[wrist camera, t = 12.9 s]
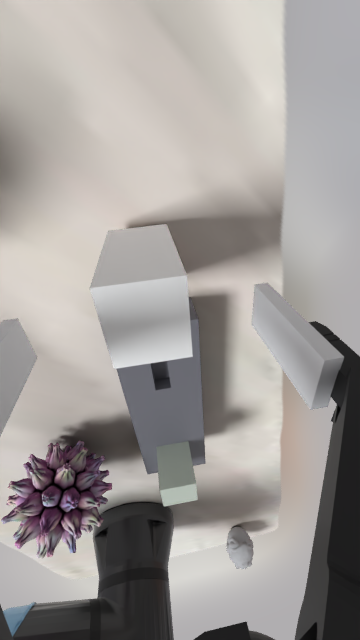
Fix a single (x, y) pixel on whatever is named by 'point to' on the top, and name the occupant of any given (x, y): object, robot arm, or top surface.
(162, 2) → the top surface
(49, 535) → the flower
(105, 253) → the white rectangular block
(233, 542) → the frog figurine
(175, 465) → the block
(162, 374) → the power strip
